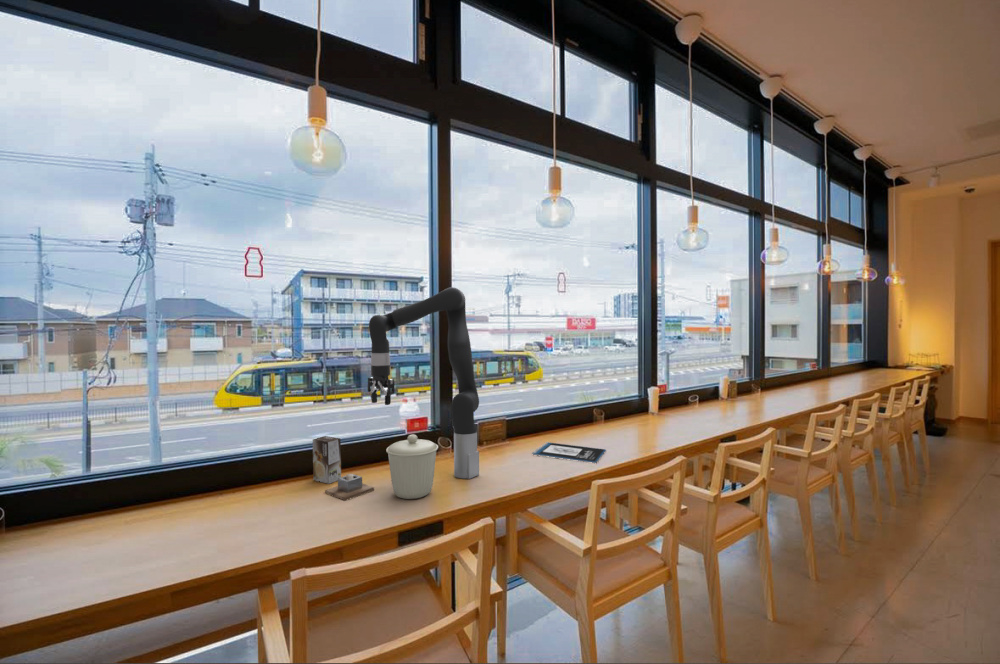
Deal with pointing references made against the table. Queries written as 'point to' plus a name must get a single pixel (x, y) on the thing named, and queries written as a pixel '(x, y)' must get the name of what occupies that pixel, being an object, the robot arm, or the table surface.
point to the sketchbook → (570, 452)
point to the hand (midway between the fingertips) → (380, 403)
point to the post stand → (345, 496)
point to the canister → (412, 467)
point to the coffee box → (326, 459)
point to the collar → (349, 484)
